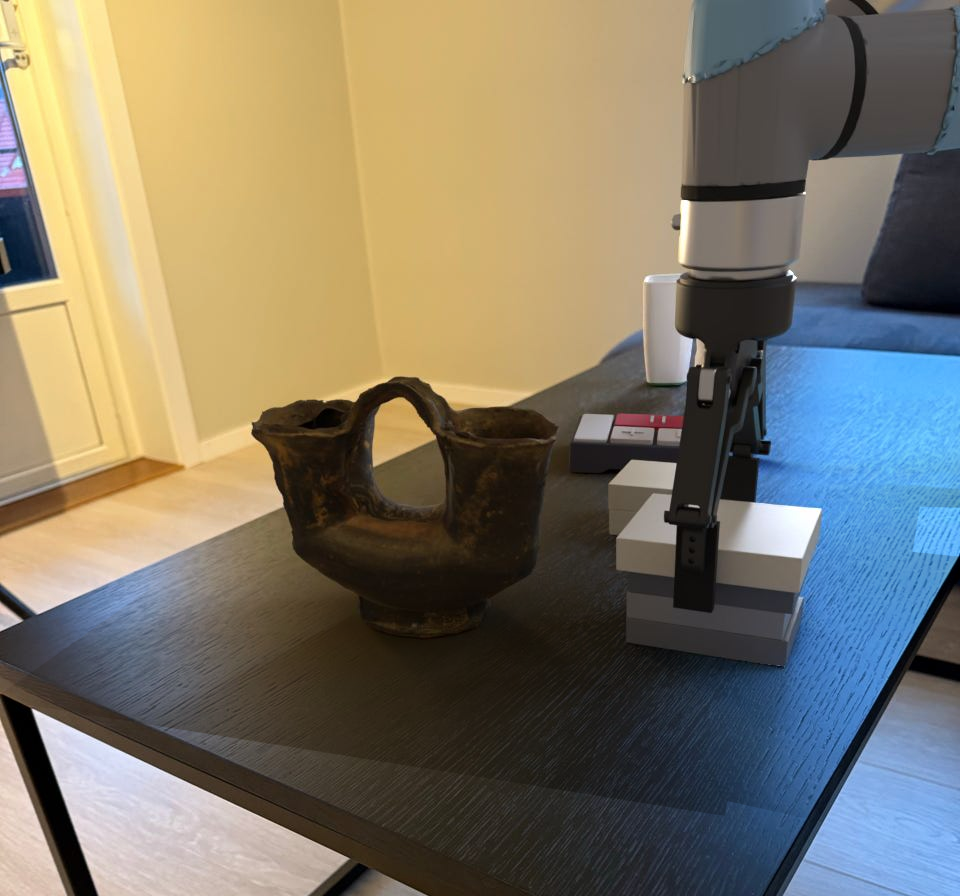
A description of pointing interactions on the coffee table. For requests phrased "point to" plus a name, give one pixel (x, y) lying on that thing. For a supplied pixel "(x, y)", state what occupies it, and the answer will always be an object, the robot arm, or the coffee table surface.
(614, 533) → the white books
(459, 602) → the pottery vessel
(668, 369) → the cup
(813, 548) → the flat white block
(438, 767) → the coffee table surface
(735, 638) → the grey books
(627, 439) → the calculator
